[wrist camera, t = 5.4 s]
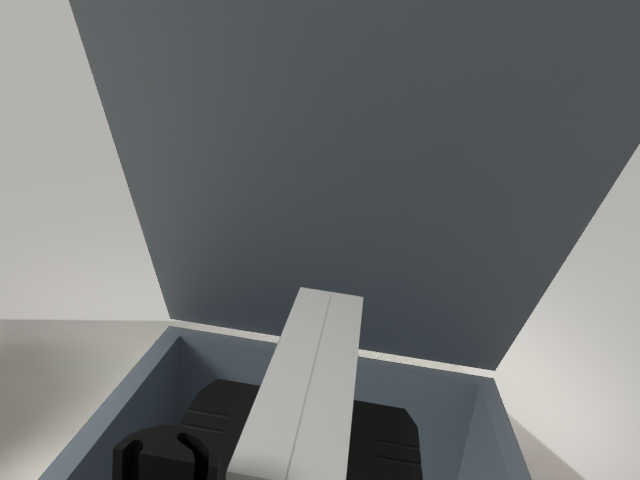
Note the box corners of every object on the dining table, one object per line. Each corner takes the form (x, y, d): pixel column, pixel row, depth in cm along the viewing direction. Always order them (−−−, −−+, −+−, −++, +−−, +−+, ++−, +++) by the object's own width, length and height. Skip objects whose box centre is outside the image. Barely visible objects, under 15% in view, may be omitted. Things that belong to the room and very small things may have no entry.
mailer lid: (170, 318, 28) (174, 306, 29) (495, 370, 27) (494, 357, 28) (-16, -267, 11) (2, -274, 11) (848, -186, 10) (832, -197, 10)
